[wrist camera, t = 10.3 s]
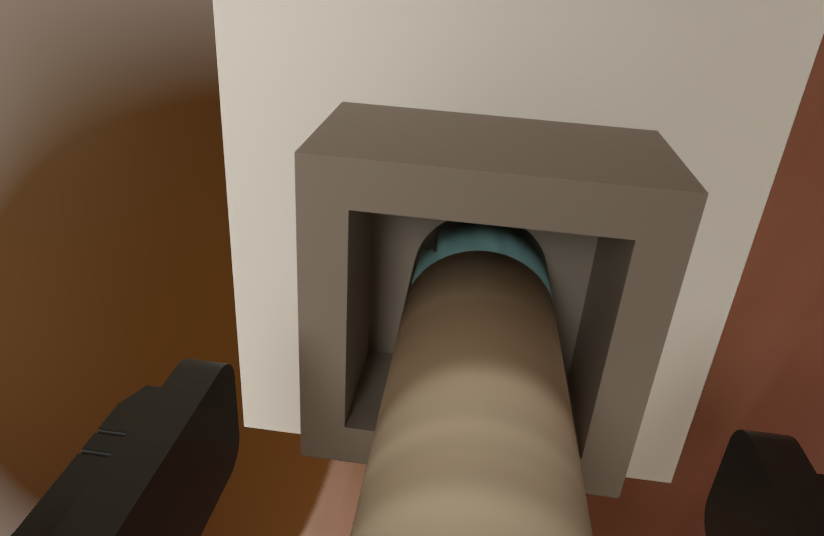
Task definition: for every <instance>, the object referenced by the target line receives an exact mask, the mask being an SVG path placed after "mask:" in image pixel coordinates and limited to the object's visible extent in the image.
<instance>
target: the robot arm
mask: <svg viewBox="0 0 824 536" xmlns="http://www.w3.org/2000/svg"><path fill="white" fill-rule="evenodd" d="M237 414H238V413H237V400H236V389H235V376H234V370H233V368H232V366H231V365H230V364H226V363H218V362H209V361H202V360H194V359H184V360H182V361H181V362H180V363H179V364H178V365H177V366H176V368H175V369H174V371H173V372H172V373H171V375H170V376H169V377H168V378H167V380H166V381H165V383H164V384H163V385H162V387H156V386H148V385H147V386H145V387H144V388H142V389H141V390H139V391H138V392H136V393H134V394H133V395H131V396H130V397H128V398H127V399H125V400H124V401H122V402H121V403H119V404H118V405H117V406H116V407H115V409H114V410H113V411H112V412H111V413H110V415H109V416H108V417H107V418H106V420H105V421H104V422H103V423H102V425H101V426H100V427H99V428H98V433H94V434H93V436H92V437H91V438H90V439H89V441H88V442H87V443H86V444H85V446H84V447H83V448H82V452H81V454H77V455H76V457H75V458H74V459H73V460H72V461H71V463H70V464H69V465H68V467H67V468H66V469H65V470H64V471H63V473H62V474H61V475H60V476H59V478H58V479H57V480H56V481H55V483H54V484H53V485H52V486H51V487H50V489H49V490H48V491H47V492H46V494H45V495H44V496H43V497H42V498H41V500H40V501H39V502H38V503H37V505H36V506H35V507H34V508H33V510H32V511H31V512H30V513H29V515H28V516H27V517H26V518H25V519H24V521H23V522H22V523H21V525H20V526H19V527H18V528H17V529H16V531H15V532H14V533H13V534H12V535H11V536H201V534H202V532H203V530H204V528H205V526H206V524H207V522H208V520H209V517H210V516H211V514H212V512H213V510H214V508H215V506H216V504H217V502H218V500H219V498H220V496H221V494H222V492H223V490H224V488H225V485H226V484H227V481H228V479H229V478H230V475H231V473H232V471H233V468H234V465H235V462H236V458H237V453H238V447H239V426H238V415H237ZM705 532H706V536H824V475H823V474H817V473H816V471H815V470H814V468H813V466H812V465H811V463H810V461H809V460H808V458H807V456H806V455H805V453H804V451H803V449H802V448H801V446H800V444H799V443H798V442H797V440H796V439H795V438H793V437H791V436H787V435H779V434H771V433H763V432H756V431H748V430H737V431H735V432H734V434H733V435H732V436H731V438H730V441H729V443H728V446H727V448H726V451H725V454H724V456H723V459H722V462H721V464H720V467H719V469H718V472H717V475H716V477H715V480H714V482H713V485H712V488H711V490H710V493H709V496H708V498H707V502H706V506H705Z"/></svg>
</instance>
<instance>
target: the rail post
mask: <svg viewBox="0 0 824 536" xmlns="http://www.w3.org/2000/svg"><path fill="white" fill-rule="evenodd" d="M350 536H593V533H592V527H591V521H590V515H589V509H588V503H587V498H586V492H585V486H584V480H583V474H582V468H581V462H580V457H579V451H578V445H577V439H576V433H575V427H574V422H573V416H572V410H571V404H570V398H569V392H568V386H567V381H566V375H565V369H564V363H563V357H562V351H561V346H560V340H559V334H558V328H557V322H556V316H555V310H554V305H553V299H552V293H551V287H550V281H549V275H548V270H547V264H546V259H545V256H544V253H543V251H542V249H541V247H540V245H539V243H538V242H537V241H536V239H535V238H534V237H533V236H532V234H531V233H530V232H529V231H528V230H526V229H523V228H513V227H504V226H494V225H485V224H475V223H466V222H456V221H445V222H443V223H442V224H440V225H439V226H437V227H436V228H435V229H434V230H432V231H431V232H430V233H429V234H428V236H427V237H426V238H425V239H424V241H423V242H422V244H421V245H420V247H419V249H418V251H417V254H416V257H415V261H414V265H413V269H412V273H411V278H410V282H409V286H408V291H407V295H406V299H405V304H404V308H403V312H402V316H401V321H400V325H399V329H398V334H397V338H396V342H395V346H394V351H393V355H392V359H391V364H390V368H389V372H388V376H387V381H386V385H385V389H384V394H383V398H382V402H381V406H380V411H379V415H378V419H377V424H376V428H375V432H374V437H373V441H372V445H371V449H370V454H369V458H368V462H367V467H366V471H365V475H364V479H363V484H362V488H361V492H360V497H359V501H358V505H357V509H356V514H355V518H354V522H353V527H352V531H351V535H350Z"/></svg>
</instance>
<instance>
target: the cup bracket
mask: <svg viewBox="0 0 824 536" xmlns="http://www.w3.org/2000/svg"><path fill="white" fill-rule="evenodd" d="M213 11H214V23H215V38H216V51H217V63H218V64H217V65H218V78H219V90H220V91H219V92H220V105H221V119H222V131H223V145H224V159H225V172H226V186H227V199H228V213H229V225H230V226H229V227H230V240H231V254H232V267H233V279H234V293H235V308H236V321H237V334H238V346H239V347H238V348H239V360H240V374H241V387H242V388H241V389H242V402H243V416H244V426H245V427H252V428H259V429H267V430H274V431H282V432H289V433H297V434H301V455H302V456H310V457H317V458H325V459H332V460H339V461H346V462H354V463H361V464H367V462H368V458H369V454H370V449H371V445H372V441H373V437H374V432H375V428H376V424H377V419H378V415H379V411H380V406H381V402H382V398H383V394H384V389H385V385H386V381H387V376H388V372H389V368H390V364H391V359H392V355H393V351H394V346H395V342H396V338H397V334H398V329H399V325H400V321H401V316H402V312H403V308H404V304H405V299H406V295H407V291H408V286H409V282H410V278H411V273H412V269H413V265H414V261H415V257H416V254H417V251H418V249H419V247H420V245H421V244H422V242H423V241H424V239H425V238H426V237H427V236H428V234H429V233H430V232H431V231H432V230H434V229H435V228H436V227H437V226H439V225H440V224H442V223H443V222H445V221H456V222H466V223H475V224H485V225H494V226H504V227H513V228H523V229H526V230H528V231H529V232H530V233H531V234H532V236H533V237H534V238H535V239H536V241H537V242H538V243H539V245H540V247H541V249H542V251H543V253H544V256H545V259H546V264H547V270H548V275H549V281H550V287H551V293H552V299H553V305H554V310H555V316H556V322H557V328H558V334H559V340H560V346H561V351H562V357H563V363H564V369H565V375H566V381H567V386H568V392H569V398H570V404H571V410H572V416H573V422H574V427H575V433H576V439H577V445H578V451H579V457H580V462H581V468H582V474H583V480H584V486H585V492H586V494H590V495H598V496H605V497H612V498H619V497H620V494H621V491H622V487H623V484H624V480H625V477H628V478H636V479H643V480H651V481H658V482H666V483H671V481H672V478H673V475H674V472H675V469H676V466H677V463H678V461H679V458H680V455H681V452H682V449H683V446H684V443H685V440H686V437H687V434H688V431H689V428H690V425H691V422H692V419H693V416H694V413H695V411H696V408H697V405H698V402H699V399H700V396H701V393H702V390H703V387H704V384H705V381H706V378H707V375H708V372H709V369H710V366H711V363H712V360H713V358H714V355H715V352H716V349H717V346H718V343H719V340H720V337H721V334H722V331H723V328H724V325H725V322H726V319H727V316H728V313H729V310H730V308H731V305H732V302H733V299H734V296H735V293H736V290H737V287H738V284H739V281H740V278H741V275H742V272H743V269H744V266H745V263H746V260H747V257H748V255H749V252H750V249H751V246H752V243H753V240H754V237H755V234H756V231H757V228H758V225H759V222H760V219H761V216H762V213H763V210H764V207H765V204H766V202H767V199H768V196H769V193H770V190H771V187H772V184H773V181H774V178H775V175H776V172H777V169H778V166H779V163H780V160H781V157H782V154H783V152H784V149H785V146H786V143H787V140H788V137H789V134H790V131H791V128H792V125H793V122H794V119H795V116H796V113H797V110H798V107H799V104H800V101H801V99H802V96H803V93H804V90H805V87H806V84H807V81H808V78H809V75H810V72H811V69H812V66H813V63H814V60H815V57H816V54H817V51H818V49H819V46H820V43H821V40H822V37H823V34H824V0H213Z"/></svg>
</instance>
